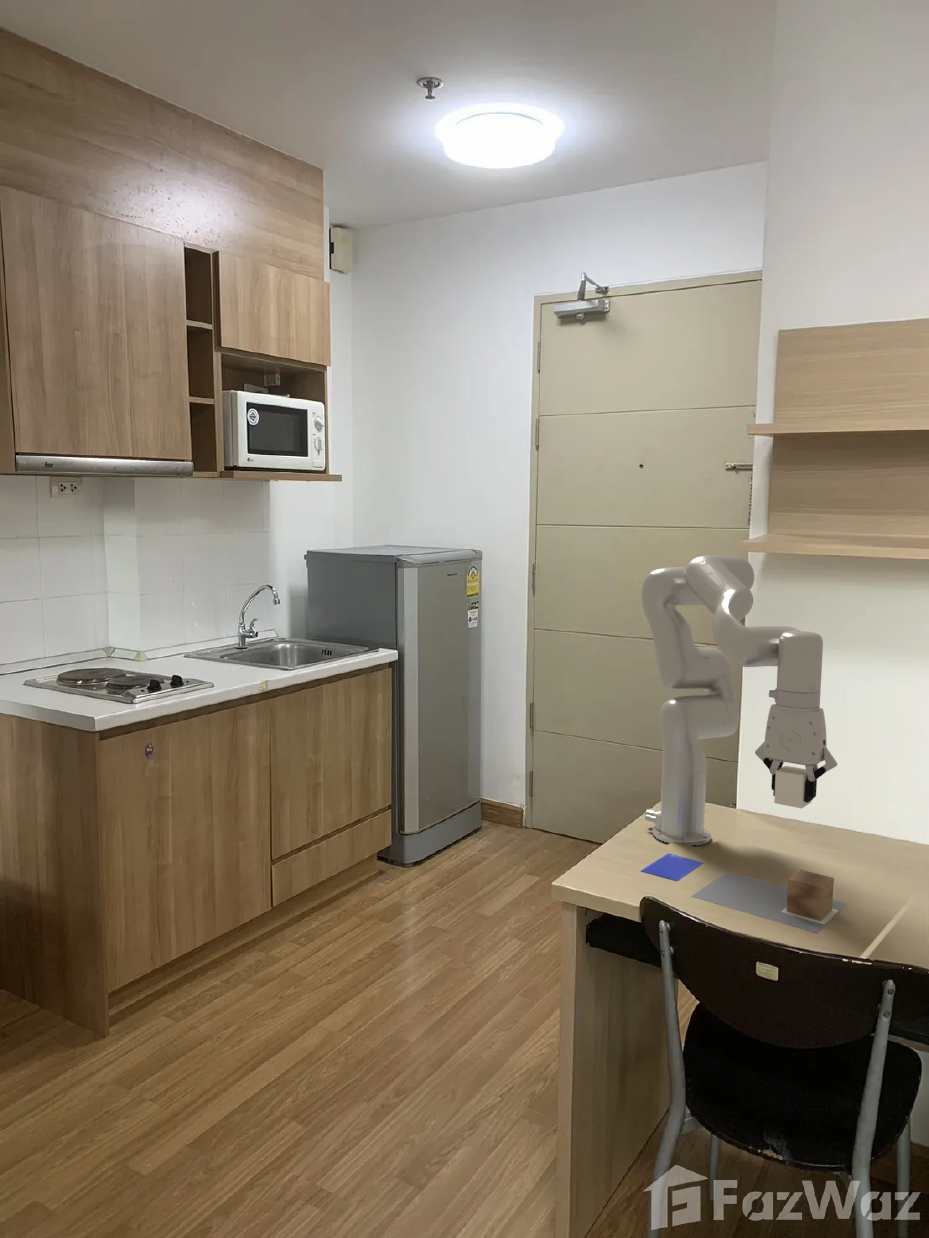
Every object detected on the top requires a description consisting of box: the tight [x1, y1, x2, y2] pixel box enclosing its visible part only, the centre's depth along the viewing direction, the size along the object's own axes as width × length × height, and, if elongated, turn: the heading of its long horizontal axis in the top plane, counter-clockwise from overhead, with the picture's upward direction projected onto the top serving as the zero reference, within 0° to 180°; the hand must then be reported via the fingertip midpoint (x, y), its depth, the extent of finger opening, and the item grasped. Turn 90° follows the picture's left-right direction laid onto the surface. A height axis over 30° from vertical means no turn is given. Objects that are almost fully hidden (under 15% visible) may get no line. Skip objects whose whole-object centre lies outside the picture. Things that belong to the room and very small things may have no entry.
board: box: [691, 871, 848, 934], centre depth 170 cm, size 23×16×1 cm
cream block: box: [773, 765, 812, 809], centre depth 169 cm, size 5×5×6 cm
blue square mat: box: [640, 853, 705, 882], centre depth 185 cm, size 2×8×12 cm
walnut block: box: [787, 869, 835, 921], centre depth 164 cm, size 6×6×6 cm
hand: (793, 796), depth 169 cm, fingers closed on cream block, 4 cm apart
